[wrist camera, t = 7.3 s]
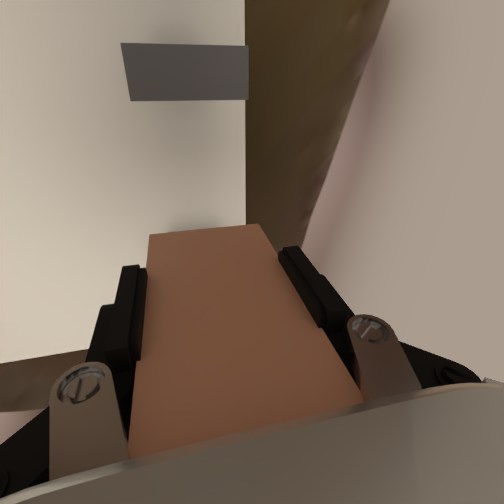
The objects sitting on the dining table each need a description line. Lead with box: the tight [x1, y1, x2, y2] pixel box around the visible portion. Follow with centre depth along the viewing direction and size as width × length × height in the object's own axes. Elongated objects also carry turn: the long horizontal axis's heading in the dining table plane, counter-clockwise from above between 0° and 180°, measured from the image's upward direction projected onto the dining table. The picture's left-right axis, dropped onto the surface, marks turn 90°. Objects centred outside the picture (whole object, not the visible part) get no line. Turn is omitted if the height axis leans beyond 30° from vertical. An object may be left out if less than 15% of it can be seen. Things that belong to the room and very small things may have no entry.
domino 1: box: [120, 43, 249, 101], centre depth 18 cm, size 2×5×12 cm, turn 89°
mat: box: [0, 0, 246, 363], centre depth 25 cm, size 38×26×1 cm
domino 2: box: [128, 224, 364, 459], centre depth 10 cm, size 2×5×12 cm, turn 89°
